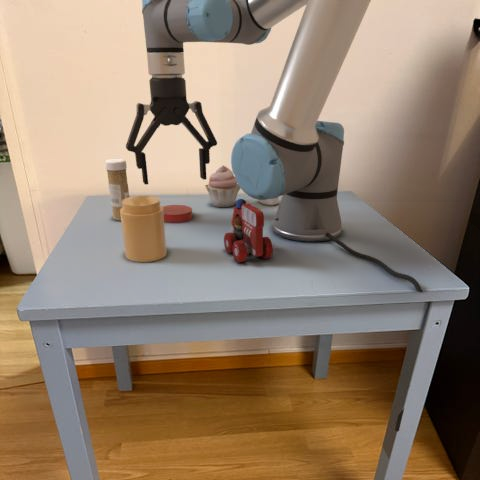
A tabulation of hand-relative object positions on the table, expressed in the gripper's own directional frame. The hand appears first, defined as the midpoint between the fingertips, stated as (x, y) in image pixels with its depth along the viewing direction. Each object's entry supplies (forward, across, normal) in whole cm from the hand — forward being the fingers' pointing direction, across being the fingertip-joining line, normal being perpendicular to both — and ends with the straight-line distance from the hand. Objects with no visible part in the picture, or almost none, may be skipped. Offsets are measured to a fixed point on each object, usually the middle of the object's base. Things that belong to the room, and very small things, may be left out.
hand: (175, 180), depth 105 cm
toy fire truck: (+10, +8, -27) cm, 30 cm away
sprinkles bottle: (+9, -13, +4) cm, 16 cm away
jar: (+9, -11, -21) cm, 25 cm away
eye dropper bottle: (+9, +26, +5) cm, 28 cm away
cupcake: (+9, +14, +8) cm, 18 cm away
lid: (+7, 0, +1) cm, 7 cm away
